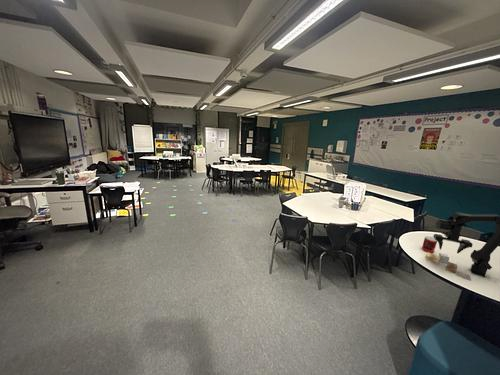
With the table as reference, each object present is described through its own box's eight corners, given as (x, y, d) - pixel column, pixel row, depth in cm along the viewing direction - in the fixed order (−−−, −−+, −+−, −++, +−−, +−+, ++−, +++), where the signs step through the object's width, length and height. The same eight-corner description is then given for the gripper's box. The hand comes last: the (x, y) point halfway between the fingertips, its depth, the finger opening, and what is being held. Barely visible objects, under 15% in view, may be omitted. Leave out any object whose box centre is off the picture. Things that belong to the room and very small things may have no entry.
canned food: (430, 248, 168) (434, 237, 165) (435, 254, 161) (439, 241, 158) (419, 247, 170) (423, 235, 167) (424, 252, 163) (428, 239, 160)
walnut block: (454, 270, 141) (456, 264, 139) (455, 273, 137) (457, 267, 136) (445, 267, 144) (448, 261, 142) (446, 270, 140) (448, 264, 139)
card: (469, 275, 136) (469, 274, 136) (470, 280, 131) (471, 279, 131) (455, 270, 141) (455, 270, 140) (455, 275, 136) (456, 274, 135)
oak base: (437, 260, 152) (439, 255, 151) (438, 264, 147) (439, 259, 146) (425, 256, 157) (427, 252, 156) (425, 260, 152) (427, 255, 151)
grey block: (445, 260, 153) (447, 254, 151) (447, 263, 149) (449, 257, 147) (437, 258, 155) (439, 252, 153) (439, 261, 151) (441, 255, 149)
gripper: (468, 229, 140) (462, 249, 144) (433, 223, 149) (428, 242, 153) (476, 236, 131) (468, 257, 135) (438, 229, 140) (432, 249, 143)
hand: (448, 251), depth 142 cm, fingers open, 9 cm apart
